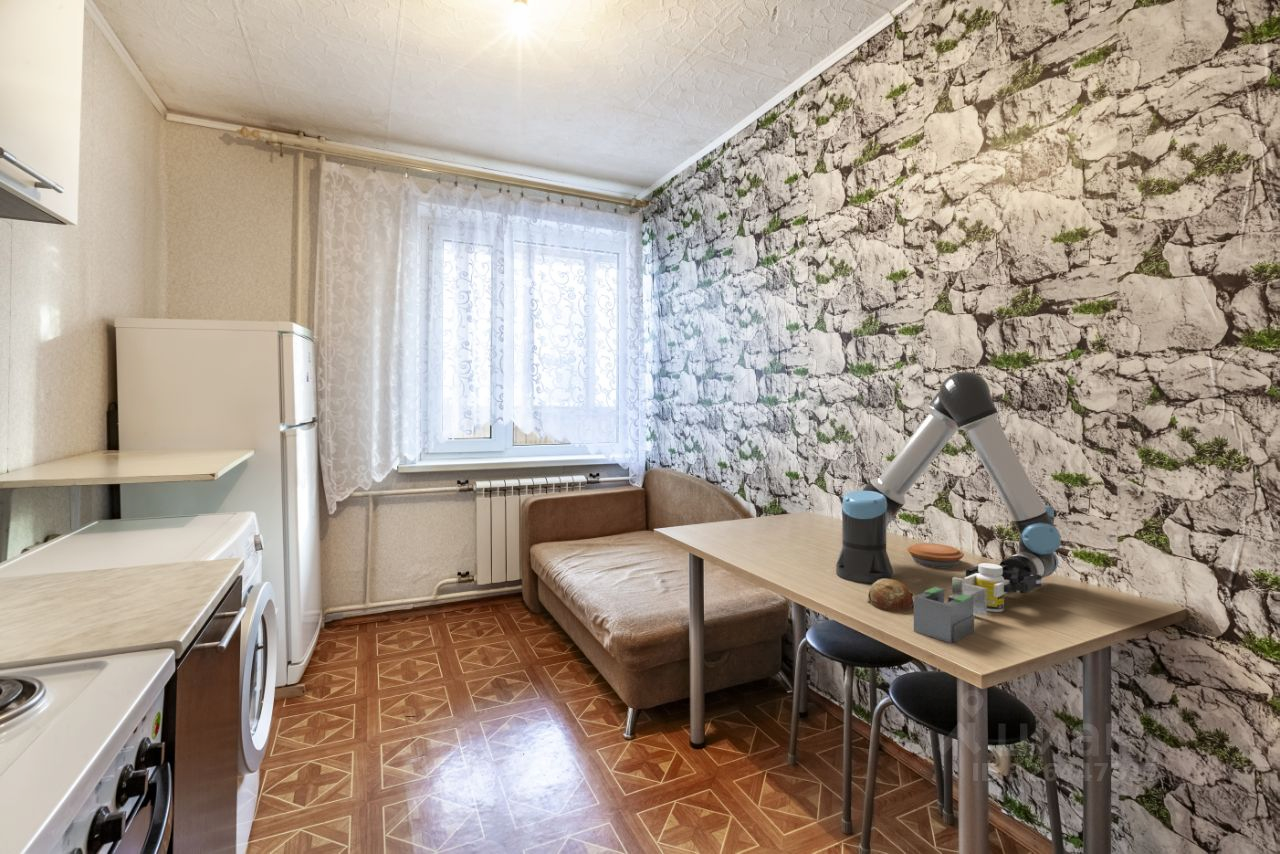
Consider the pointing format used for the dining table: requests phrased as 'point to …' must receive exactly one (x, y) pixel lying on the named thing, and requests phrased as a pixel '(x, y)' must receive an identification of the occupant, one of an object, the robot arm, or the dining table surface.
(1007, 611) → the dining table surface
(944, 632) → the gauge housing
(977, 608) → the plunger
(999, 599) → the supplement bottle
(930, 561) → the pie
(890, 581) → the bread roll
